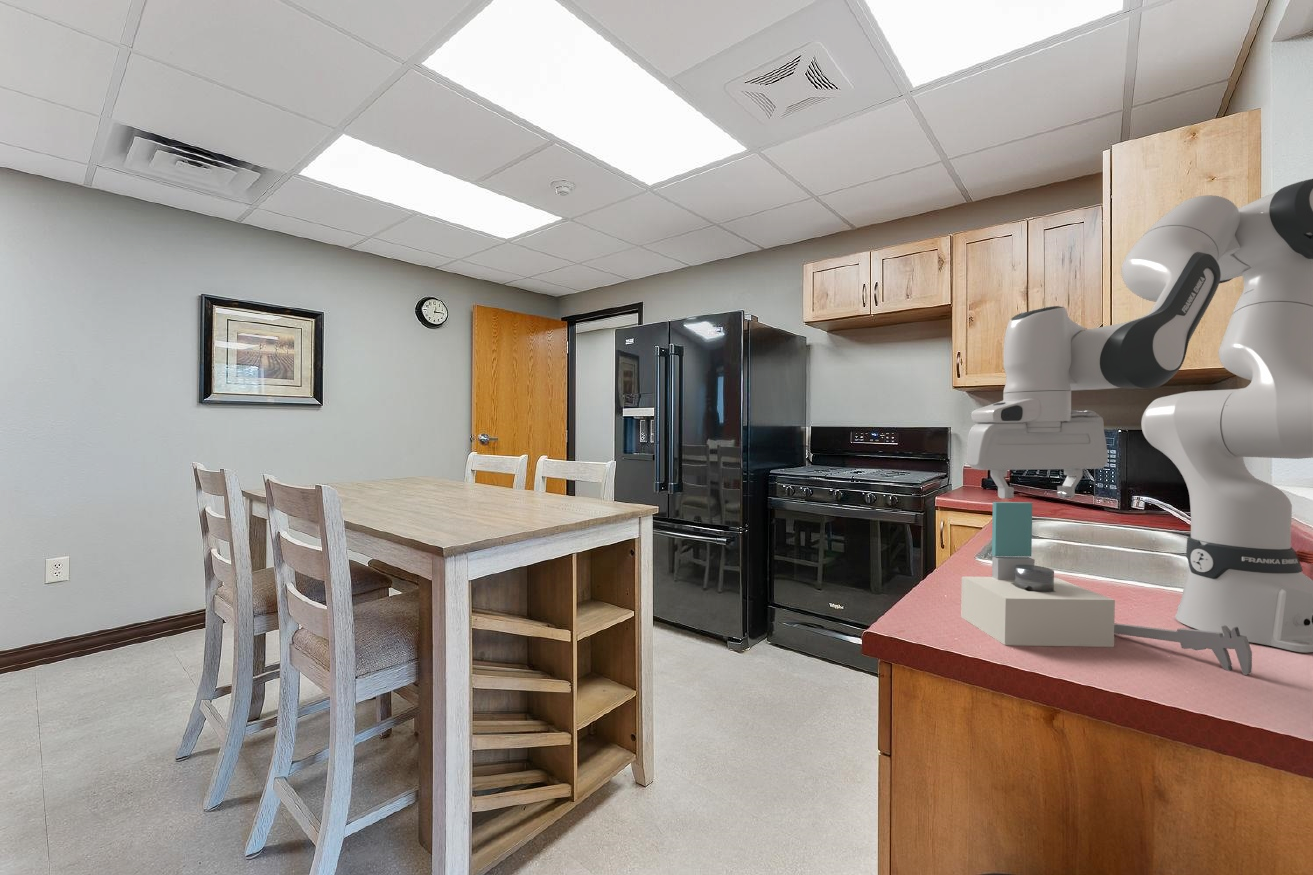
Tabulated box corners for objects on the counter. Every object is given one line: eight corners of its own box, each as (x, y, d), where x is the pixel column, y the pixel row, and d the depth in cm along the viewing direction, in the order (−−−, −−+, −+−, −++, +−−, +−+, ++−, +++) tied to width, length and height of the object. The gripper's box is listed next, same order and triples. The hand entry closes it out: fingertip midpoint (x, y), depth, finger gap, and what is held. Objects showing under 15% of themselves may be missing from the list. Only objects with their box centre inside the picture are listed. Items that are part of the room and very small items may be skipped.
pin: (1038, 622, 89) (1039, 564, 89) (1061, 634, 84) (1062, 573, 84) (1006, 621, 89) (1007, 564, 89) (1027, 633, 84) (1028, 572, 84)
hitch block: (1055, 618, 93) (1057, 557, 92) (1113, 646, 81) (1115, 576, 80) (961, 617, 93) (962, 555, 93) (1004, 645, 81) (1006, 574, 81)
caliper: (1251, 676, 72) (1252, 629, 72) (1248, 678, 71) (1249, 630, 71) (1077, 625, 90) (1078, 588, 90) (1073, 626, 90) (1074, 588, 90)
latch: (1031, 556, 91) (1027, 555, 92) (1032, 503, 91) (1028, 502, 92) (995, 555, 92) (991, 554, 93) (996, 502, 91) (992, 501, 92)
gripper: (1087, 410, 89) (1086, 494, 89) (961, 412, 89) (961, 495, 90) (1119, 409, 83) (1118, 499, 83) (983, 411, 83) (983, 501, 83)
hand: (1035, 497), depth 86 cm, fingers open, 8 cm apart
